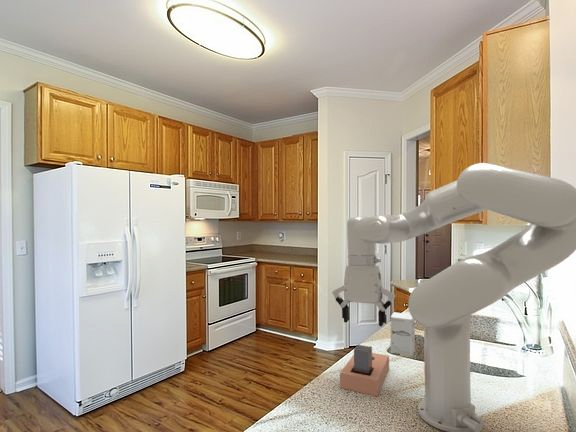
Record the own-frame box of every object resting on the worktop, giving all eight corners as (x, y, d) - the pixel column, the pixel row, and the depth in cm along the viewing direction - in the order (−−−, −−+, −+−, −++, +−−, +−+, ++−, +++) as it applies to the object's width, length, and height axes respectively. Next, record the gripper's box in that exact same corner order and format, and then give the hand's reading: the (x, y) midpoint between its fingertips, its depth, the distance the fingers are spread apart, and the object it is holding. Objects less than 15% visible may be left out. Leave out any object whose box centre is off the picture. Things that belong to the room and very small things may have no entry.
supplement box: (390, 353, 113) (389, 316, 113) (393, 346, 119) (393, 311, 120) (412, 357, 109) (412, 319, 110) (415, 349, 116) (415, 313, 116)
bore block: (356, 362, 105) (356, 350, 105) (389, 368, 100) (388, 355, 100) (340, 387, 89) (340, 372, 89) (377, 396, 84) (377, 380, 84)
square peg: (358, 380, 93) (357, 344, 93) (372, 383, 91) (371, 347, 91) (354, 386, 89) (353, 349, 90) (368, 389, 88) (368, 352, 88)
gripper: (395, 260, 91) (398, 322, 90) (336, 259, 99) (337, 316, 98) (391, 263, 84) (393, 330, 83) (327, 261, 92) (329, 323, 91)
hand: (363, 323), depth 91 cm, fingers open, 9 cm apart
